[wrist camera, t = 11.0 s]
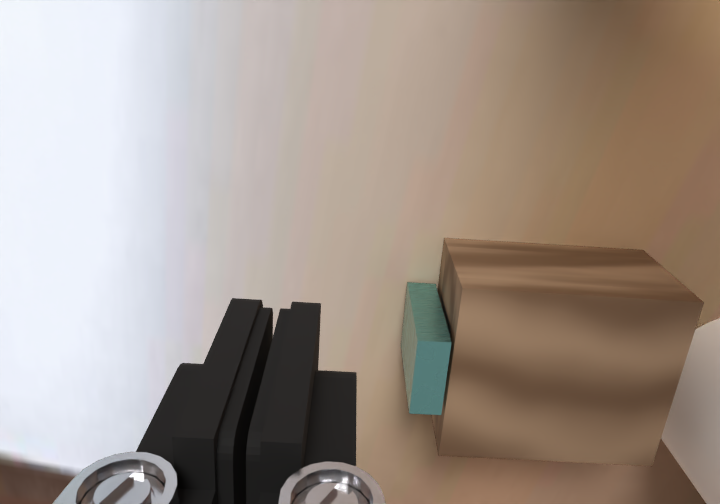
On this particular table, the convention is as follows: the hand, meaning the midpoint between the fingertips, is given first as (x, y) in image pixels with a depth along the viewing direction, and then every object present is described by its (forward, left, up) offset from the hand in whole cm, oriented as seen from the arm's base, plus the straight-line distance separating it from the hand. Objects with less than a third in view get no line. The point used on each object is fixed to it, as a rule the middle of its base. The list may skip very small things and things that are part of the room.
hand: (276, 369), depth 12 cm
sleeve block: (+14, +15, -29) cm, 36 cm away
